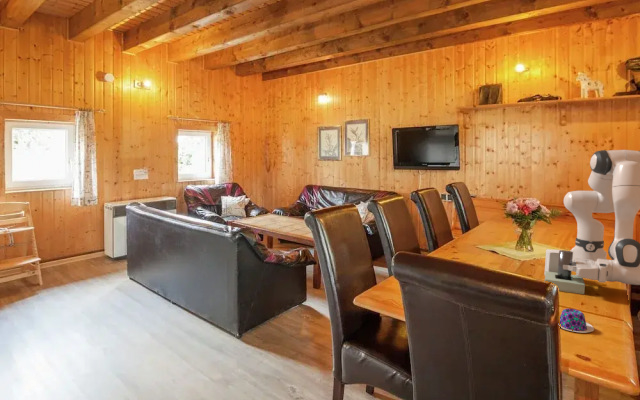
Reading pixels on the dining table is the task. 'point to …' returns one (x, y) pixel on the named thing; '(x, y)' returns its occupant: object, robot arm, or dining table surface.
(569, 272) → the peg
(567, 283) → the socket block
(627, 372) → the dining table surface
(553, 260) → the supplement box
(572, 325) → the purple patterned hat
